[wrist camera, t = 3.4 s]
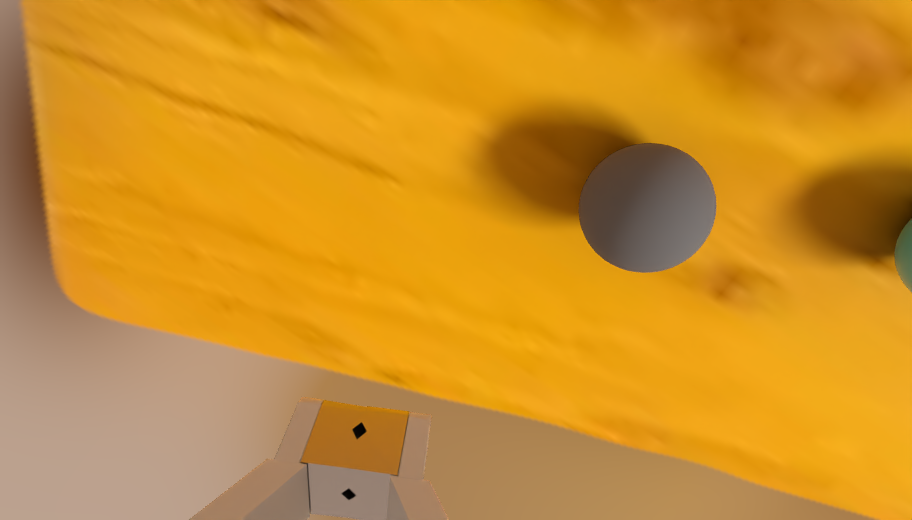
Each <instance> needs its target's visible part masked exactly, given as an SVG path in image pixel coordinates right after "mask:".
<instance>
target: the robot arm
mask: <svg viewBox="0 0 912 520" xmlns="http://www.w3.org/2000/svg"><path fill="white" fill-rule="evenodd" d="M430 426H431V415H429V414H421V413H413V412H410V414H409V411H402V410H393V409H386V408H378V407H370V406H367V407H363V406H357V405H351V404H345V403H339V402H333V401H327V400H320V399H313V398H306V397H302V398H301V399H300V401H299V402H298V404H297V406H296V408H295V411H294V413H293V415H292V418H291V420H290V423H289V425H288V428H287V430H286V432H285V435H284V437H283V439H282V442H281V444H280V447H279V449H278V452H277V454H276V456H275V458H274V459H266V460H265V461H264V462H263V463H262V464H260V465H259V466H258V467H256V468H255V469H254V470H252V471H251V472H250V473H248V474H247V475H246V476H245V477H243V478H242V479H241V480H239V481H238V482H237V483H236V484H234V485H233V486H232V487H231V488H229V489H228V490H227V491H225V492H224V493H223V494H221V495H220V496H219V497H218V498H216V499H215V500H214V501H212V502H211V503H210V504H209V505H207V506H206V507H205V508H203V509H202V510H201V511H200V512H198V513H197V514H196V515H194V516H193V517H192V518H191V519H189V520H307V519H308V518H309V517H310V514H318V515H327V516H336V517H346V518H353V519H359V520H449V519H448V517H447V515H446V512H445V510H444V508H443V506H442V504H441V502H440V500H439V498H438V496H437V494H436V492H435V490H434V489H433V486H432V484H431V482H430V481H427V480H423V478H424V472H425V464H426V457H427V449H428V441H429V434H430Z"/></svg>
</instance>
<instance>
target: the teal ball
mask: <svg viewBox="0 0 912 520" xmlns="http://www.w3.org/2000/svg"><path fill="white" fill-rule="evenodd" d="M895 265H896V268H897V271H898V274H899V276H900V278H901V280H902V281H903V283H904V284H905V286H906V287H907V288H908V289H909V290H910V291H911V292H912V219H911V220H910V221H909V222H908V223H907V224H906V225H905V227H904V228H903V230H902V231H901V233H900V235H899V237H898V239H897V242H896V247H895Z"/></svg>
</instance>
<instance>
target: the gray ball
mask: <svg viewBox="0 0 912 520" xmlns="http://www.w3.org/2000/svg"><path fill="white" fill-rule="evenodd" d="M715 215H716V196H715V192H714V188H713V185H712V182H711V180H710V178H709V176H708V175H707V173H706V172H705V170H704V169H703V167H702V166H701V165H700V164H699V163H698V162H697V161H696V160H695V159H694V158H692V157H691V156H690V155H688V154H687V153H685V152H683V151H681V150H679V149H677V148H674V147H671V146H668V145H663V144H655V143H644V144H637V145H632V146H629V147H625V148H623V149H621V150H618V151H616V152H614V153H613V154H611V155H609V156H608V157H607V158H605V159H604V160H603V161H602V162H600V163H599V164H598V165H597V166H596V168H595V169H594V170H593V171H592V172H591V174H590V175H589V177H588V179H587V181H586V182H585V184H584V187H583V189H582V192H581V196H580V202H579V219H580V224H581V228H582V231H583V233H584V235H585V238H586V240H587V241H588V243H589V244H590V246H591V247H592V248H593V249H594V251H595V252H596V253H597V254H598V255H600V256H601V257H602V258H603V259H604V260H606V261H607V262H609V263H610V264H612V265H615V266H617V267H619V268H622V269H625V270H628V271H633V272H657V271H662V270H666V269H669V268H672V267H674V266H676V265H678V264H680V263H682V262H684V261H685V260H687V259H688V258H690V257H691V256H692V255H693V254H694V253H696V251H697V250H698V249H699V248H700V247H701V246H702V244H703V243H704V242H705V240H706V239H707V237H708V235H709V234H710V232H711V229H712V226H713V223H714V219H715Z"/></svg>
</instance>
